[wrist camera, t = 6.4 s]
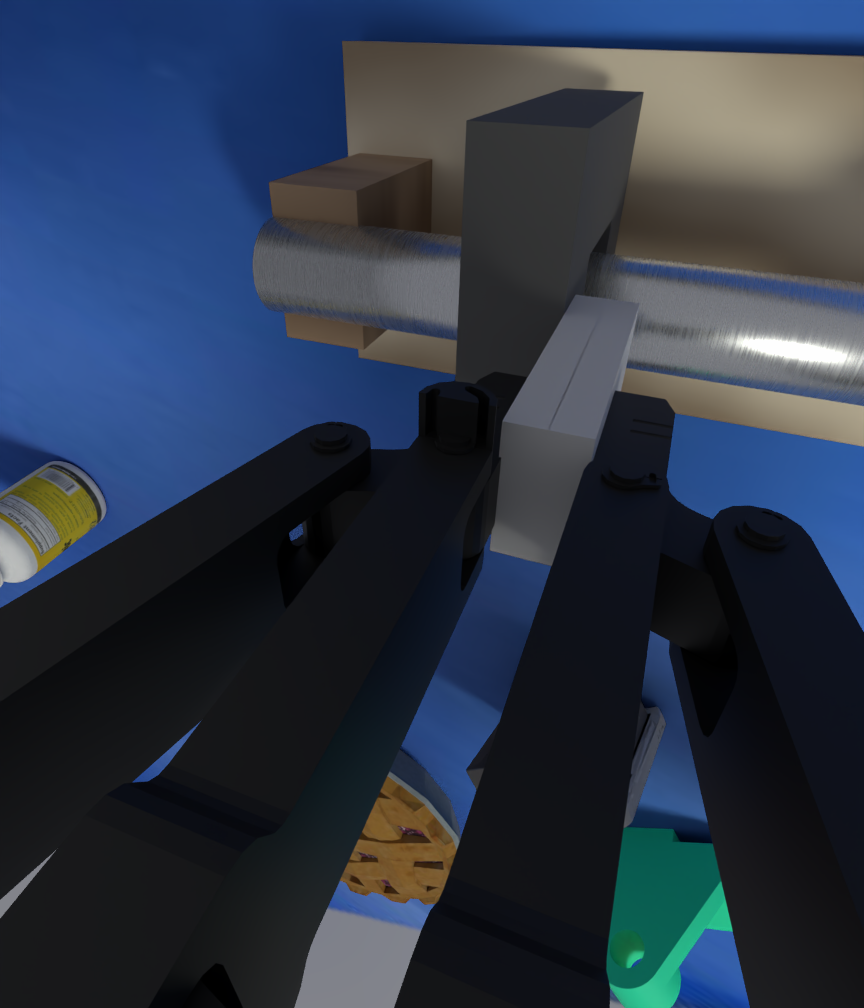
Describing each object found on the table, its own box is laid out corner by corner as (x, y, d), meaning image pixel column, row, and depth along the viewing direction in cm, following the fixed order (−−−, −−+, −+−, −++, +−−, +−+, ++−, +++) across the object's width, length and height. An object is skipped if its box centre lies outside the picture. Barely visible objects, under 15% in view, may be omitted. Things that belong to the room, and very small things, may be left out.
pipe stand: (972, 447, 24) (1052, 583, 18) (372, 345, 31) (286, 420, 25) (1203, 65, 17) (1459, 82, 11) (360, 40, 24) (236, 43, 18)
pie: (417, 706, 47) (389, 765, 43) (512, 877, 56) (497, 938, 53) (211, 701, 58) (175, 747, 54) (320, 845, 67) (295, 893, 63)
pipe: (1103, 420, 17) (1166, 485, 15) (307, 298, 24) (258, 329, 21) (1192, 297, 15) (1284, 348, 13) (298, 201, 22) (242, 222, 19)
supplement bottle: (73, 522, 49) (-43, 609, 42) (33, 460, 46) (-99, 541, 39) (122, 520, 47) (8, 612, 39) (83, 455, 44) (-48, 541, 37)
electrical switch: (538, 734, 44) (493, 858, 36) (498, 676, 43) (444, 792, 35) (670, 713, 38) (649, 855, 31) (629, 647, 37) (596, 777, 30)
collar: (589, 392, 25) (530, 543, 18) (530, 381, 26) (449, 523, 18) (643, 91, 19) (590, 127, 12) (565, 88, 20) (466, 120, 13)
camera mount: (600, 881, 52) (578, 1031, 44) (562, 822, 49) (531, 971, 41) (763, 895, 45) (770, 1075, 37) (730, 828, 42) (730, 1007, 35)
